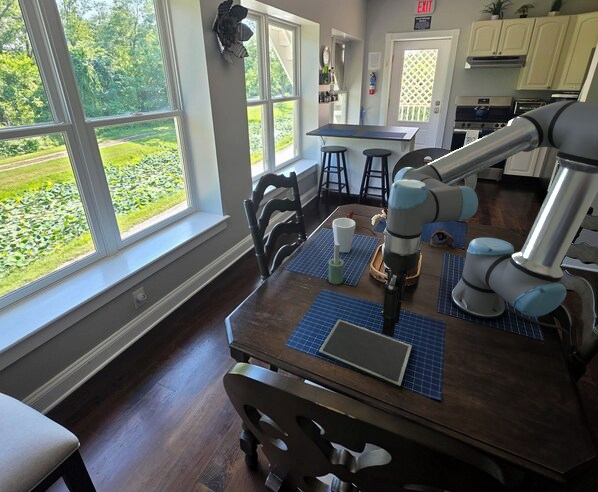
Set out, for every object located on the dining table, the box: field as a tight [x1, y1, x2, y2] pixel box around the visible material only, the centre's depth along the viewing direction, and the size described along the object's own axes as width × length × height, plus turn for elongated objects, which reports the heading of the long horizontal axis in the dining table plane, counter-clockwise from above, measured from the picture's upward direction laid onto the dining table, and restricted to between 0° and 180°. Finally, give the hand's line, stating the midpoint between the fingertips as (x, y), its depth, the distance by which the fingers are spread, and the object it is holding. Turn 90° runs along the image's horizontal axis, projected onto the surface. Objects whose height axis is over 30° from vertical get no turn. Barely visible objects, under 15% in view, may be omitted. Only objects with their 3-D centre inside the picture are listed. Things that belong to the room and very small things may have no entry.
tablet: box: [318, 318, 413, 389], centre depth 88 cm, size 22×14×1 cm, turn 61°
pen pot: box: [327, 257, 345, 285], centre depth 117 cm, size 5×5×8 cm
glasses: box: [345, 211, 383, 236], centre depth 159 cm, size 14×16×5 cm
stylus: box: [333, 242, 340, 265], centre depth 115 cm, size 2×2×15 cm
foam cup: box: [331, 217, 356, 254], centre depth 136 cm, size 10×9×13 cm
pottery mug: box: [430, 228, 455, 249], centre depth 140 cm, size 12×10×8 cm
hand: (390, 327), depth 82 cm, fingers open, 5 cm apart
